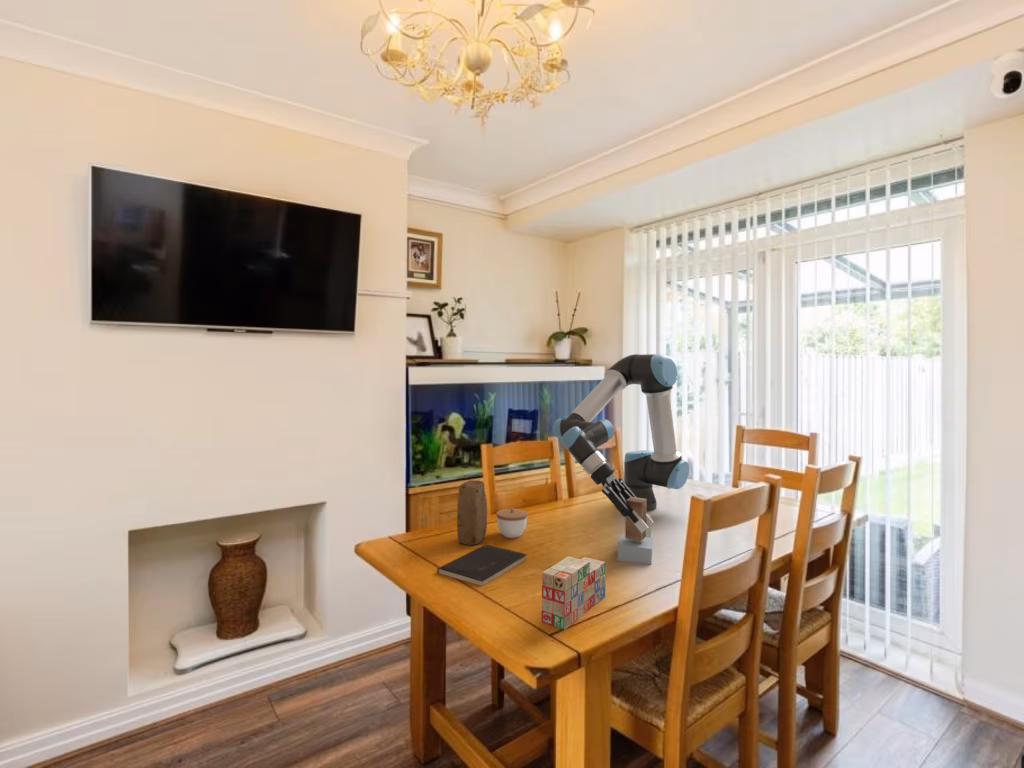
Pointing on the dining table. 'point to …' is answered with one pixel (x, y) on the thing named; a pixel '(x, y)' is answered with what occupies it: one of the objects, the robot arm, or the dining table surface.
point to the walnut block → (640, 509)
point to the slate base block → (635, 550)
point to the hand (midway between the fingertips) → (647, 527)
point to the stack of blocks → (571, 590)
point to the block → (471, 512)
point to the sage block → (648, 530)
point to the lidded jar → (511, 522)
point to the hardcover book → (482, 564)
